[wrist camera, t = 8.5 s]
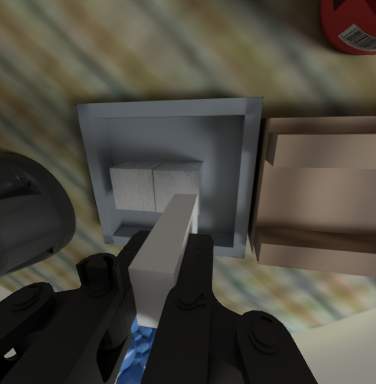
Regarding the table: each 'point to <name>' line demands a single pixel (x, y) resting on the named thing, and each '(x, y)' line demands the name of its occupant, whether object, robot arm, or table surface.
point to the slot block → (315, 194)
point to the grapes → (136, 354)
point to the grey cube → (178, 181)
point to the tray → (177, 151)
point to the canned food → (350, 25)
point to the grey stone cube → (134, 185)
